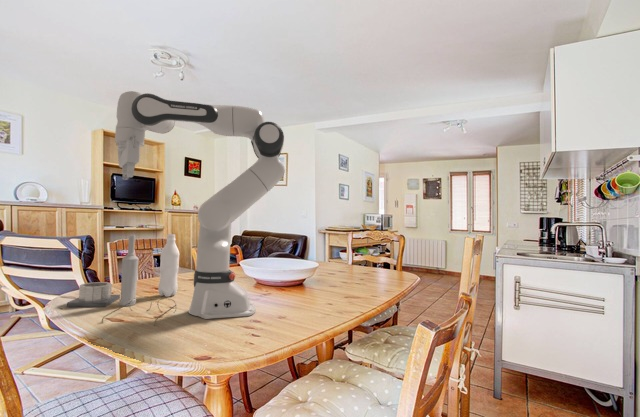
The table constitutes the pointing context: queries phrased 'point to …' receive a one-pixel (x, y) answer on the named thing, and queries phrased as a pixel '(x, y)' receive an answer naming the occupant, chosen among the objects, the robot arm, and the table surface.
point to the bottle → (129, 275)
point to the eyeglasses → (147, 310)
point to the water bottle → (169, 268)
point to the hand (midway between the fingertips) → (127, 178)
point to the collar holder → (94, 295)
